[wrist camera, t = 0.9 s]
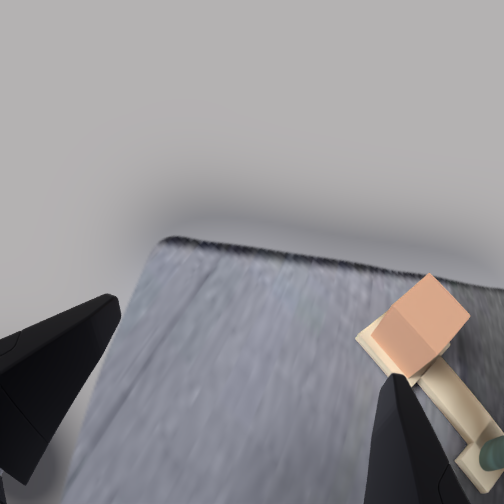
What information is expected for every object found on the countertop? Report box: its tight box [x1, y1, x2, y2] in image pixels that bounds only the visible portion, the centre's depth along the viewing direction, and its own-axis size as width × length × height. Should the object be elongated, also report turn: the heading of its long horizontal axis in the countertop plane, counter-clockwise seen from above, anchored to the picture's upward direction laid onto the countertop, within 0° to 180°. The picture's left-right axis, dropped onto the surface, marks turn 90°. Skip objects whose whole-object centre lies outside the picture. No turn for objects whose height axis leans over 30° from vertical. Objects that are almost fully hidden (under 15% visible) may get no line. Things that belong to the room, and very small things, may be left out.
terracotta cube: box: [371, 273, 470, 378], centre depth 22 cm, size 5×5×5 cm
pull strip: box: [355, 311, 504, 494], centre depth 17 cm, size 7×20×13 cm, turn 33°
